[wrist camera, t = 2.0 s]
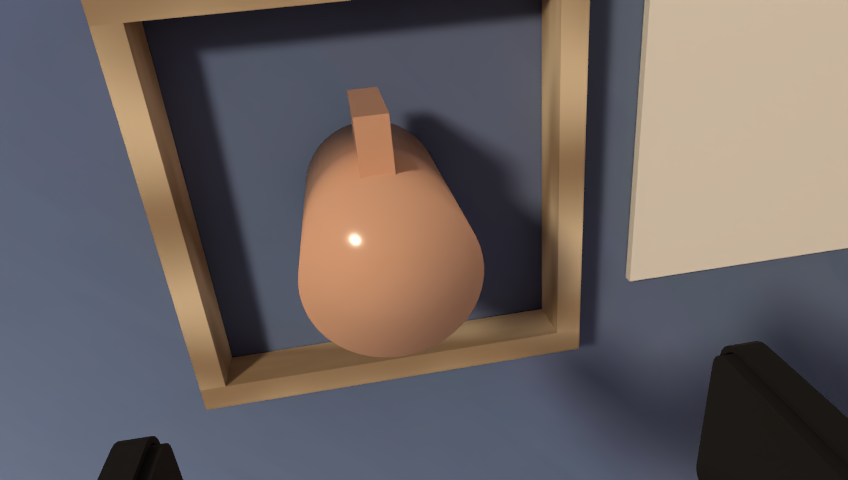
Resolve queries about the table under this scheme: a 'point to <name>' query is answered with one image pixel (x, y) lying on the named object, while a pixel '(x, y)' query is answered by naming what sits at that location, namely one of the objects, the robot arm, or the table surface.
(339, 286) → the terracotta jug
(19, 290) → the table surface
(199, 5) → the oak frame
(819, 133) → the off-white pad
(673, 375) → the table surface
